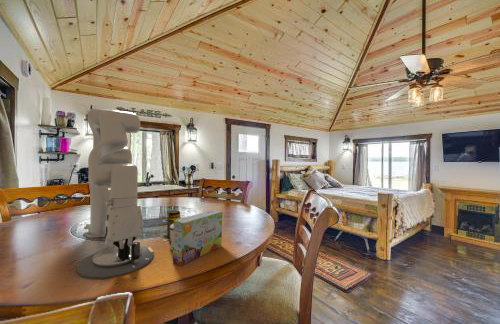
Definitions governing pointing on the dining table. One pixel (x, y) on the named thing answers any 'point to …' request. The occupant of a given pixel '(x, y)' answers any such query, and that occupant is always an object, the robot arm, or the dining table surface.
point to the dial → (116, 256)
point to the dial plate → (92, 271)
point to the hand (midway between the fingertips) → (124, 258)
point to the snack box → (196, 236)
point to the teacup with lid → (171, 236)
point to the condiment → (170, 220)
